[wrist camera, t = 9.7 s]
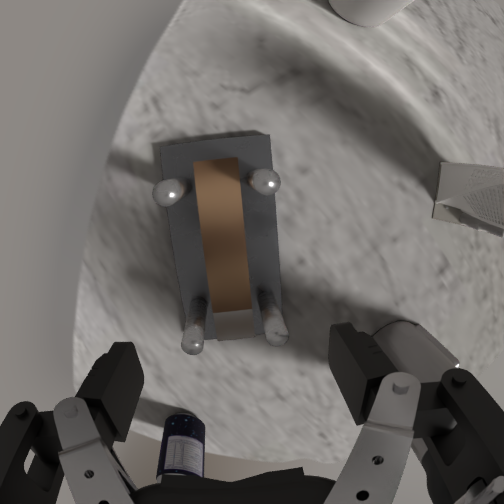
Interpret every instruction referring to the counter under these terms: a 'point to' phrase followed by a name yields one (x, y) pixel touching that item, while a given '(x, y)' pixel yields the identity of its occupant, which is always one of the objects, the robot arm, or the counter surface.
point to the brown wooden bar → (224, 246)
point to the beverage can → (182, 446)
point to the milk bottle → (368, 10)
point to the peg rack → (255, 224)
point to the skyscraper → (471, 196)
